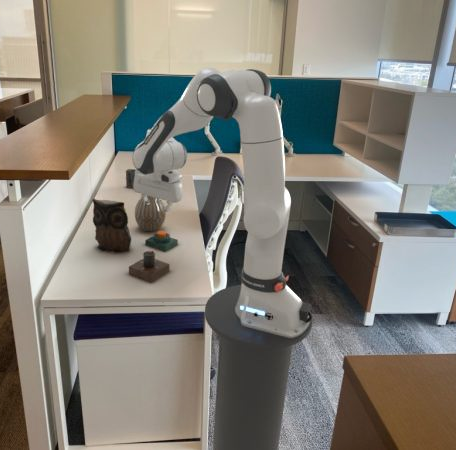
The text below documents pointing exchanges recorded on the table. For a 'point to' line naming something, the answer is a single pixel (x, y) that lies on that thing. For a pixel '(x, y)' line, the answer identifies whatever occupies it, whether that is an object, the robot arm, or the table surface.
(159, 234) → the button
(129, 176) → the camera
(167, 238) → the button box
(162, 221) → the vase
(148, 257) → the rod knob
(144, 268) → the knob panel
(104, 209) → the owl
